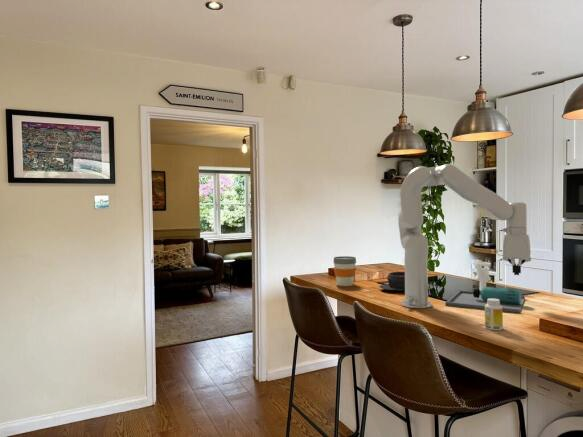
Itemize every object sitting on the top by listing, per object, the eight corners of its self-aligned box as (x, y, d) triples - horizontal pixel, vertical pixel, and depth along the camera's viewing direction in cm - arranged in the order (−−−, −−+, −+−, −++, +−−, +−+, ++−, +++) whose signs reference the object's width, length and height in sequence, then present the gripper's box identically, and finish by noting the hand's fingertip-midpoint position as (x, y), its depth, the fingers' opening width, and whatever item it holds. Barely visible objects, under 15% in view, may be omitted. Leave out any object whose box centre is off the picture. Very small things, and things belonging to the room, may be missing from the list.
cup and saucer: (416, 285, 225) (416, 269, 224) (435, 292, 206) (435, 275, 206) (373, 288, 219) (373, 272, 219) (388, 295, 201) (388, 278, 201)
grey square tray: (519, 313, 163) (519, 309, 163) (445, 305, 179) (445, 302, 179) (524, 299, 187) (524, 295, 187) (458, 293, 202) (458, 290, 202)
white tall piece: (479, 288, 212) (478, 259, 212) (493, 290, 207) (492, 260, 206) (472, 290, 208) (472, 260, 207) (486, 292, 202) (486, 261, 202)
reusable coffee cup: (344, 281, 240) (344, 255, 239) (361, 284, 230) (360, 257, 230) (329, 284, 232) (328, 257, 231) (345, 287, 222) (345, 259, 222)
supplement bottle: (504, 328, 145) (504, 299, 145) (499, 332, 141) (499, 302, 141) (488, 325, 149) (487, 297, 148) (482, 329, 145) (482, 299, 144)
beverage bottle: (522, 302, 170) (471, 296, 182) (524, 308, 175) (474, 302, 187) (524, 287, 173) (473, 282, 185) (526, 293, 177) (476, 288, 189)
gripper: (495, 231, 176) (496, 274, 177) (536, 232, 168) (536, 277, 169) (497, 230, 182) (498, 272, 183) (537, 231, 174) (537, 274, 175)
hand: (516, 274), depth 176 cm, fingers closed
